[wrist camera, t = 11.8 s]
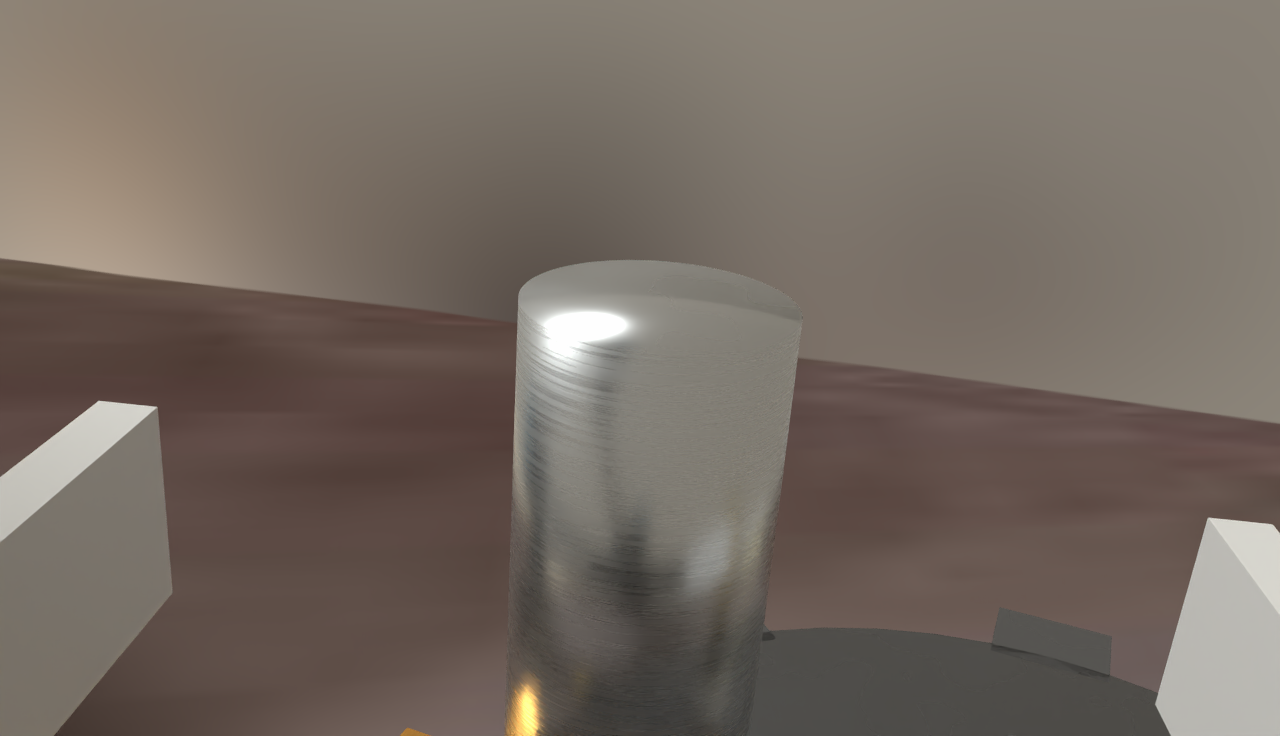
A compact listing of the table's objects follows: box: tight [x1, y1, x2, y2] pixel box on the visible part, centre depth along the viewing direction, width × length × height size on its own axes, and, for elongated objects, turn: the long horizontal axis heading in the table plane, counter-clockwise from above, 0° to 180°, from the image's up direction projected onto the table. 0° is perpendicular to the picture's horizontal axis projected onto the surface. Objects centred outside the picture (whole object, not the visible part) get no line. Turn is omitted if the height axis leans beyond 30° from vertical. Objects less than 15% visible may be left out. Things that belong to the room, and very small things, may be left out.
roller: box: [504, 260, 803, 736], centre depth 19 cm, size 4×4×10 cm
